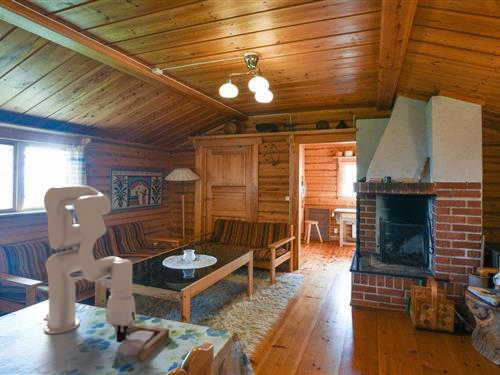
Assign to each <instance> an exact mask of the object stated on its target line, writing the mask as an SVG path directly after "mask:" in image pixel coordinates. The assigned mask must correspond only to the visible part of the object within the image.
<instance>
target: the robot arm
mask: <svg viewBox="0 0 500 375" xmlns="http://www.w3.org/2000/svg"><path fill="white" fill-rule="evenodd" d="M43 199H44V200H43V204H44V208H45V212H46V215H47V225H48V230H47V231H48V241H49V245H50V248H52V249H53V250H65V249H68V248H69V249H70V248H73V249H71V250H65V251H62V252H56V253H53V254H52V255H51V256H49V257H47V260H46V262H45V268H46V273H47V279H48V313H47V314H46V317H43V321H45V322H47V324H46V325H45V326H44V332H45V333H46V334H50V335H57V334H63V333H68V332H70V331H72V330H75V329H76V328H78V327H79V325H80V322H81V321H80V319H79V318H77V317H76V282H75V281H76V280H75V279H74V278H73V277H72V276H71V274H73V273H76V272H78V271H81V272H82V276H83V277H84V278H85V279H86V280H87V281H88V282H92V283H93V282H94V283H95V282H98V281H100V280H101V281H102V280H104V279H107V278H110V288H109V290H108V292H110V295H109V297H108V299H107V305H106V312H105V313H106V314H105V315H106V316H105V320H106V323H107V324H109V325H111V326H112V327H114V331H115V332H116V343H120V344H121V343H122V342H123V341H124V340H125V339H126V338H127V332H126V329H128V328H132V327H133V326H134V324H135V321H136V301H135V297H134V295H133V261H132V260H131V259H126V258H121V257H118V256H116V255H112V256H111V255H110V256H107V257H103V258H99V259H96V258H95V257H94V252H93V249H94V248H93V247H94V246H95V242H96V241H97V240H98V239H99V238H101V237H102V236H103V235H104V234H106V233H107V227H106V224H105V221H104V218H103V217H102V216H105V215H107V214H109V213H110V212H111V209H112V203H111V201H110V199H109V198H108V197H107V196H106V194H103V193H102V192H100V191H99V190H97V189H96V188H94V187H92V186H89V185H84V184H83V185H81V184H80V185H79V184H78V185H77V184H75V185H74V184H73V185H72V184H69V185H67V184H64V185H56V186H52V187H50V188H49V189H48V190H46V192H45V194H44V197H43ZM68 206H72V207H73V210H74V213H75V217H76V219H77V224H73V221H72V220H73V216H72V214H71V212H70V210H69V209H68Z"/></svg>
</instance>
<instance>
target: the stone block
mask: <svg viewBox="0 0 500 375" xmlns="http://www.w3.org/2000/svg"><path fill="white" fill-rule="evenodd" d="M153 338H154V332H149V331H137V332H133V333H129V335H128V336H126V339H125V340H124V341H122V342H121V343H120V344H119V348H118V351H119V353H120V354H121V355H124V356H125V355H126V356H130V355H131V356H138V351H139V350H140V349H142V348H143V347H144V346H145V345H146V344H147V343H148V342H150V341H151V340H152V339H153Z"/></svg>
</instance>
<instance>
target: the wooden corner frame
mask: <svg viewBox="0 0 500 375" xmlns="http://www.w3.org/2000/svg"><path fill="white" fill-rule="evenodd" d="M137 331H149V332H154V338H153V339H152V340H151V341H150V342H148V343H147V344H146V345H145V346H144V347H143V348H142V349H140V350H139V351H138V355H137V360H138V361H141V362H144V361H145V360H146V359H147V358H148V357H149V356H150V355H151V354H152V353H154V351H155V350H156V349H157V348H158V347H160V346H161V345H162V344H163V343H164V342H165V341H166V340H167V339H168V338H169V337H170V329H168V328H164V327H158V326H151V325H144V324H141V323H140V324H139V323H134V326H133V327H132V328H128V329H126V334H128V333H129V334H131V333H133V332H137Z"/></svg>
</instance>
